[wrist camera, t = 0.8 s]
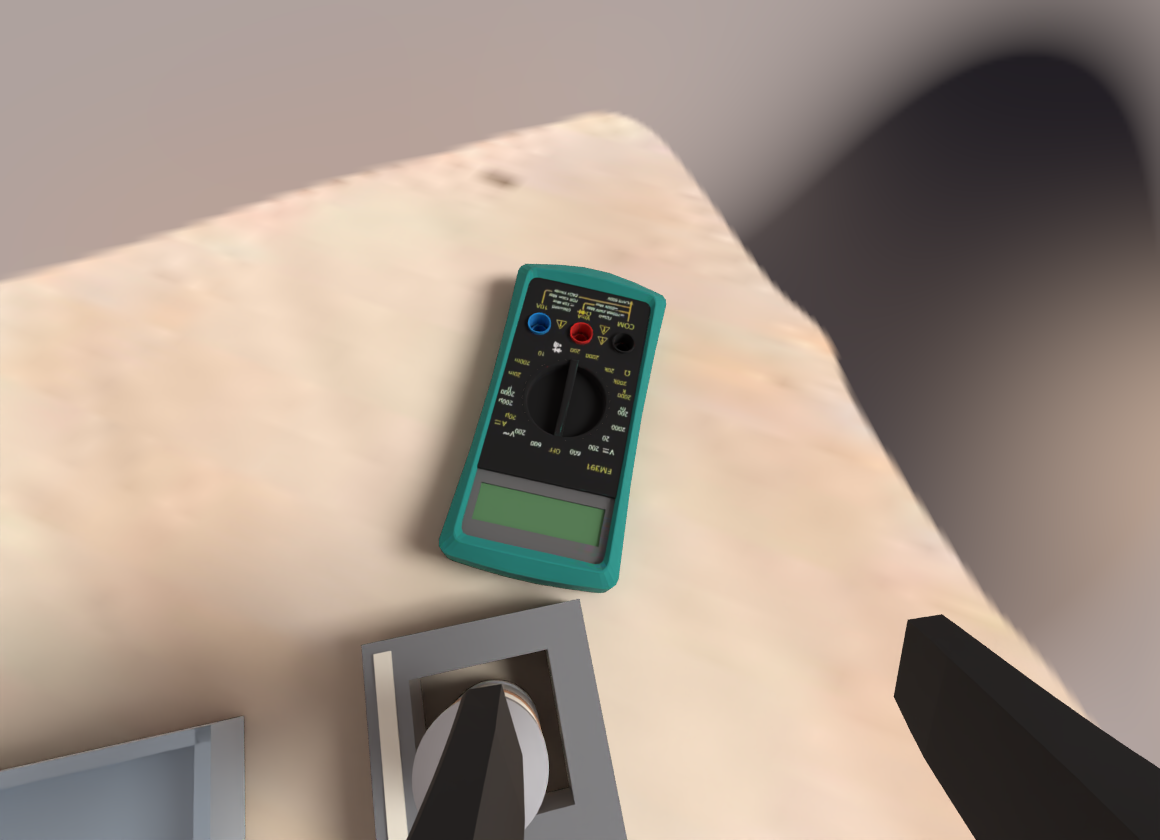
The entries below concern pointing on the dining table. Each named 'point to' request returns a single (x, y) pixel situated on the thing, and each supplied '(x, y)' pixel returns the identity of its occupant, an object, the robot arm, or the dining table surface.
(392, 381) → the dining table surface
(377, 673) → the fuse block
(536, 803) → the cylinder
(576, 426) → the digital multimeter
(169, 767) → the parts tray
